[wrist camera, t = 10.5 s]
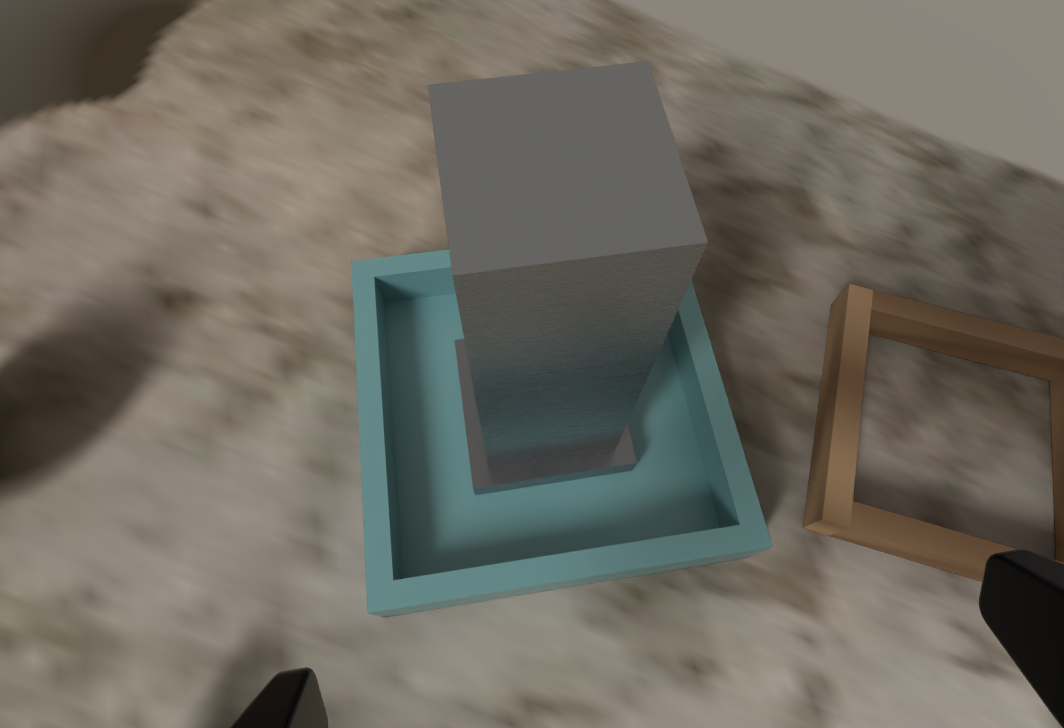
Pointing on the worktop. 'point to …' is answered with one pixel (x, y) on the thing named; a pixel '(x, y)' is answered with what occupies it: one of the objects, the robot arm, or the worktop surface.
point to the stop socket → (842, 415)
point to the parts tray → (539, 511)
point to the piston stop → (560, 263)
